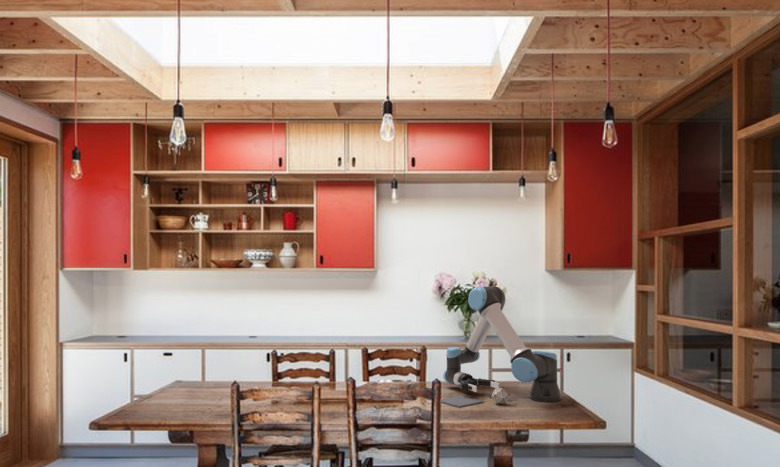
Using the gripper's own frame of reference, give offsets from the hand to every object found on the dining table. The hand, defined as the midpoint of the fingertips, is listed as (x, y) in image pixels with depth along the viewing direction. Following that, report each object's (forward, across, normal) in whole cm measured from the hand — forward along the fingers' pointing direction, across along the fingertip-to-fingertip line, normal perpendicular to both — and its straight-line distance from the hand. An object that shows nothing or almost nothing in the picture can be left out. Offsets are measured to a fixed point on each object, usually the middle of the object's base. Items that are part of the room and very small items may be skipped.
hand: (487, 387), depth 309 cm
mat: (-3, +14, -6) cm, 16 cm away
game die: (+10, 0, -6) cm, 12 cm away
